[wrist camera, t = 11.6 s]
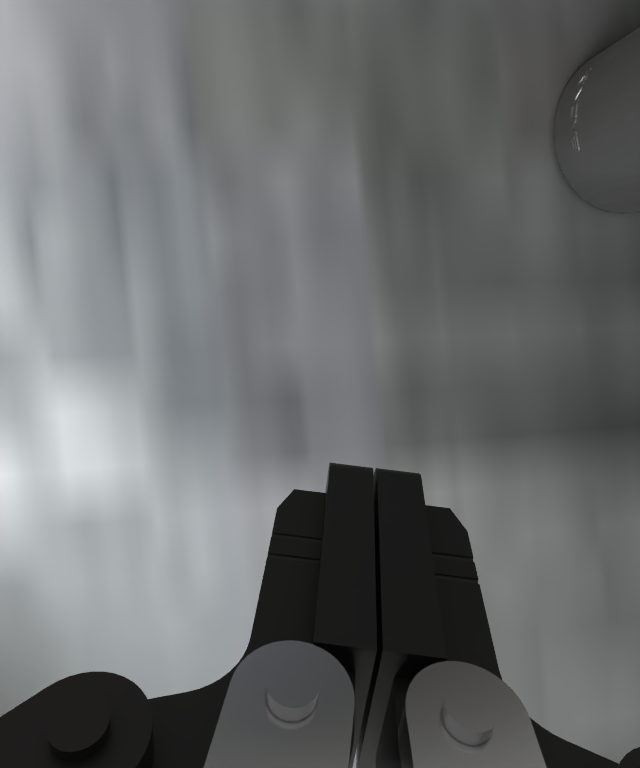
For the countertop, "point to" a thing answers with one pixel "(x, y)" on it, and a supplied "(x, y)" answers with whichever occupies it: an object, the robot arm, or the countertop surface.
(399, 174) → the countertop surface
